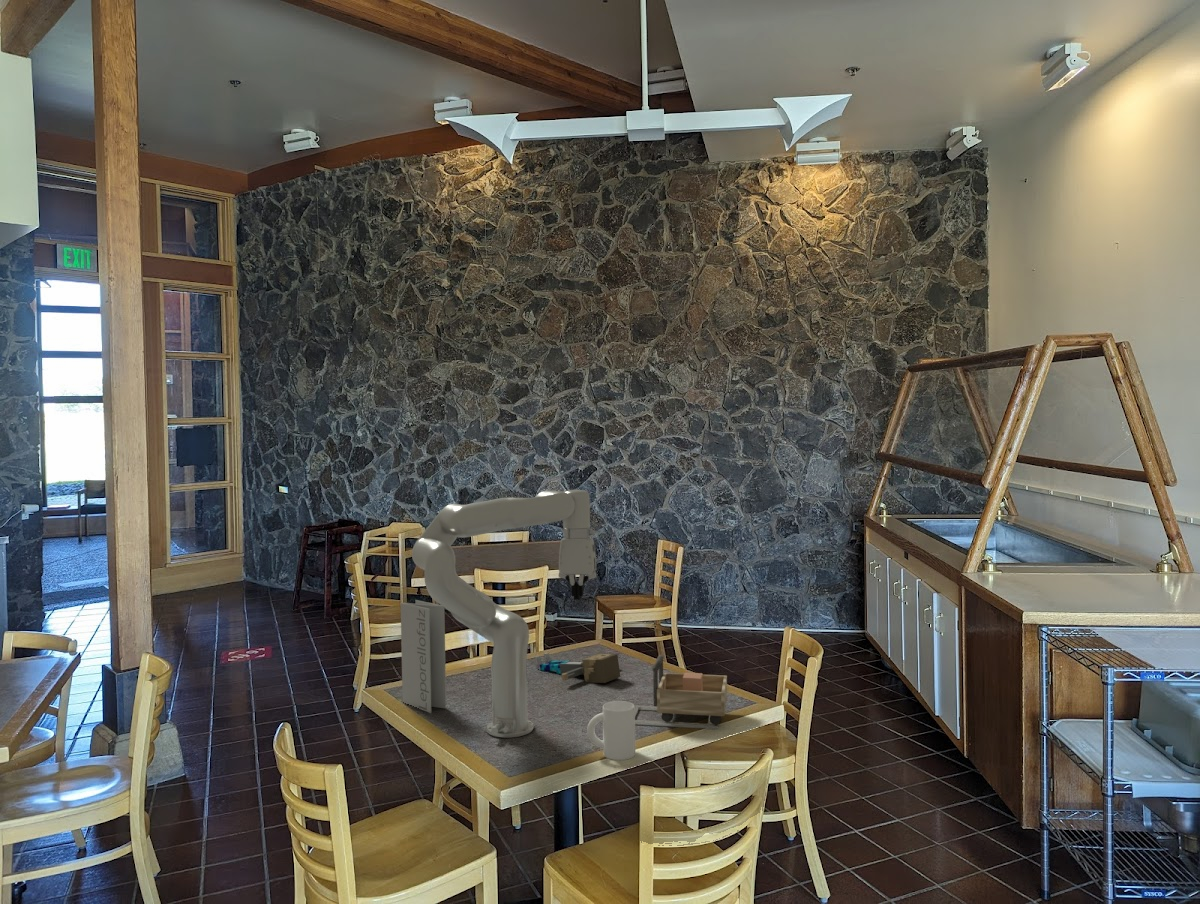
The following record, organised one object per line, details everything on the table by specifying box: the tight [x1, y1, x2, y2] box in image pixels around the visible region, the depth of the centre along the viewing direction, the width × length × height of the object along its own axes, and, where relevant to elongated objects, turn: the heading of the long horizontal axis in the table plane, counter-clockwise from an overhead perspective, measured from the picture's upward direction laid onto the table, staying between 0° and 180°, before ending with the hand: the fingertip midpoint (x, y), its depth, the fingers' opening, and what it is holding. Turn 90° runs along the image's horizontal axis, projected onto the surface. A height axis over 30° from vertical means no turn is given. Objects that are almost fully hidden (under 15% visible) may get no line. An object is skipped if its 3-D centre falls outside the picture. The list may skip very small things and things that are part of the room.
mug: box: [586, 700, 636, 761], centre depth 202 cm, size 8×12×12 cm
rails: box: [634, 704, 719, 730], centre depth 227 cm, size 13×26×1 cm, turn 79°
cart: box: [651, 654, 728, 726], centre depth 226 cm, size 16×19×15 cm
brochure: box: [400, 599, 447, 714], centre depth 241 cm, size 14×6×30 cm, turn 47°
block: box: [683, 672, 704, 691], centre depth 226 cm, size 5×5×7 cm
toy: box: [534, 652, 621, 684], centre depth 271 cm, size 26×8×30 cm
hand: (577, 598), depth 230 cm, fingers closed
